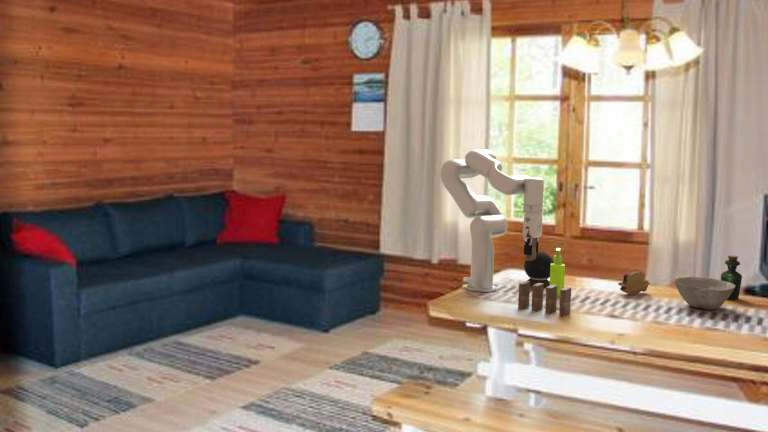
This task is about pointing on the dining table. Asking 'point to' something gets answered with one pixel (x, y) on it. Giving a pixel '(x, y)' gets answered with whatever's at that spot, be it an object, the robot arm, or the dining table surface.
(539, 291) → the domino
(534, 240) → the domino
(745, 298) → the dining table surface
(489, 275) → the robot arm
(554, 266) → the soap dispenser
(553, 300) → the domino
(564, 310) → the domino
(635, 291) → the wooden carving
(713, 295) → the ceramic bowl
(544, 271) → the black ball on stand
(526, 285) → the domino
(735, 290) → the potion bottle
